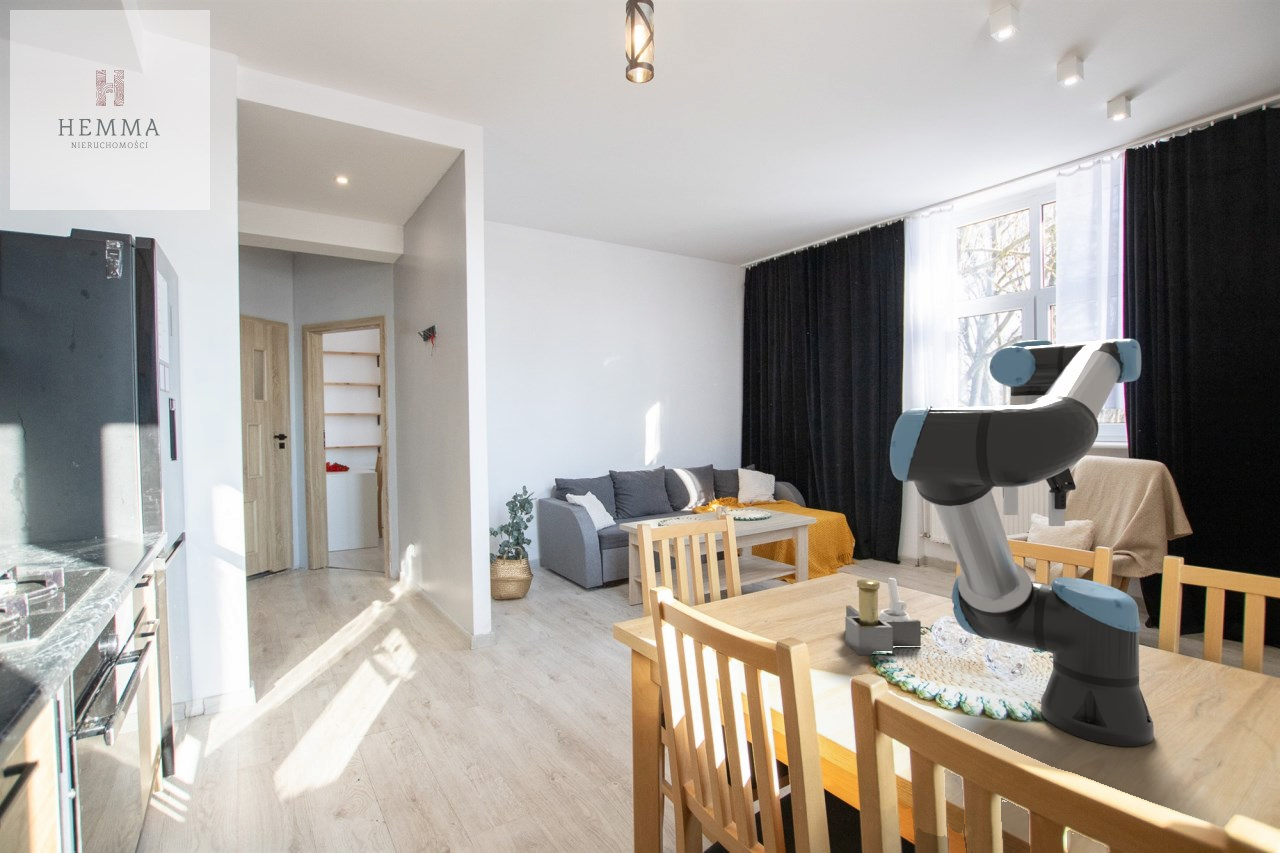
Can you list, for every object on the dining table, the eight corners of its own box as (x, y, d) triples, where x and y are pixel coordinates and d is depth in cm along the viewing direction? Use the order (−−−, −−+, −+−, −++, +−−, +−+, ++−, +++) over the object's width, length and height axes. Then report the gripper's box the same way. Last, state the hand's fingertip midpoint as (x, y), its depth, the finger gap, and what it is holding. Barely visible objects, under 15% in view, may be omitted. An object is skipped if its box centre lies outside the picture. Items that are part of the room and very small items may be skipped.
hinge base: (928, 653, 132) (928, 626, 132) (858, 655, 131) (858, 628, 131) (895, 628, 147) (895, 604, 147) (833, 630, 147) (832, 605, 147)
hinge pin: (883, 652, 133) (883, 584, 133) (862, 652, 133) (862, 585, 132) (874, 644, 138) (874, 579, 137) (854, 644, 137) (853, 579, 137)
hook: (892, 588, 164) (908, 580, 158) (901, 633, 157) (918, 625, 151) (868, 584, 162) (883, 575, 157) (876, 629, 155) (892, 621, 150)
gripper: (1098, 416, 110) (1098, 530, 111) (1009, 416, 135) (1010, 510, 136) (1059, 416, 110) (1059, 531, 110) (977, 417, 135) (978, 510, 135)
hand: (1032, 520), depth 123 cm, fingers open, 13 cm apart
